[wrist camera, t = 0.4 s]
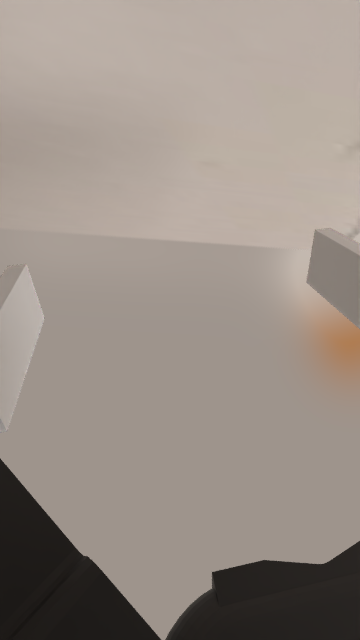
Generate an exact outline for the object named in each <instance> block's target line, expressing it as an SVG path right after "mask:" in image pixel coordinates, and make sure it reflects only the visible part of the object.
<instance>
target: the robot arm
mask: <svg viewBox="0 0 360 640" xmlns="http://www.w3.org/2000/svg"><path fill="white" fill-rule="evenodd" d="M307 283H308V284H309V285H310V286H311V287H312V288H313V289H315V290H316V291H317V292H318V293H319V294H320V295H322V296H323V297H324V298H325V299H326V300H327V301H328V302H329V303H331V304H332V305H333V306H334V307H335V308H337V310H339V311H340V312H341V313H342V314H343V315H344V316H346V317H347V318H348V319H349V320H350V321H351V322H352V323H354V324H355V325H356V326H357V327H358V328H359V329H360V243H358V242H356V241H354V240H352V239H350V238H348V237H347V236H345V235H343V234H341V233H339V232H337V231H335V230H333V229H331V228H324V229H316V230H315V233H314V239H313V245H312V251H311V258H310V264H309V270H308V276H307ZM43 321H44V315H43V312H42V309H41V306H40V303H39V300H38V297H37V294H36V291H35V288H34V285H33V282H32V279H31V276H30V273H29V270H28V267H27V264H20V265H12V266H7V268H6V269H5V271H4V272H3V274H2V275H1V277H0V433H1V432H6V431H7V430H8V427H9V424H10V421H11V418H12V415H13V412H14V409H15V406H16V403H17V400H18V397H19V394H20V391H21V388H22V385H23V382H24V379H25V376H26V373H27V370H28V367H29V364H30V361H31V358H32V354H33V352H34V349H35V346H36V343H37V340H38V337H39V334H40V331H41V327H42V324H43ZM0 640H161V639H160V638H159V637H158V636H157V634H156V633H155V632H154V631H153V630H152V629H151V627H150V626H149V625H148V624H147V623H146V622H145V620H144V619H143V618H142V617H141V616H140V615H139V614H138V612H136V610H135V609H134V608H133V607H132V605H131V604H130V603H129V602H128V601H127V599H126V598H125V597H124V596H123V595H122V594H121V593H120V591H119V590H118V589H117V588H116V587H115V586H114V584H113V583H112V582H111V581H110V580H109V579H108V578H107V576H106V575H105V574H104V573H103V572H102V570H100V568H99V567H98V566H97V565H96V564H95V563H94V562H93V561H92V560H91V559H90V558H89V557H87V556H83V555H82V554H81V553H80V552H79V551H78V550H77V549H76V548H75V547H74V545H73V544H72V543H71V542H70V541H69V539H68V538H67V537H66V536H65V535H64V534H63V532H62V531H61V530H60V529H59V528H58V526H57V525H56V524H55V523H54V522H53V520H52V519H51V518H50V517H49V516H48V515H47V513H46V512H45V511H44V510H43V509H42V508H41V506H40V505H39V504H38V503H37V502H36V500H35V499H34V498H33V497H32V496H31V494H30V493H29V492H28V491H27V490H26V488H25V487H24V486H23V485H22V484H21V483H20V481H19V480H18V479H17V478H16V477H15V475H14V474H13V473H12V472H11V471H10V469H9V468H8V467H7V466H6V465H5V464H4V462H3V461H2V460H1V459H0ZM166 640H360V541H359V542H357V543H356V544H355V545H353V546H351V547H350V548H349V549H347V550H345V551H344V552H342V553H341V554H340V555H338V556H336V557H335V558H333V559H332V560H331V561H329V562H327V563H325V564H308V563H295V562H282V561H269V560H268V561H267V560H263V561H258V562H254V563H250V564H245V565H241V566H237V567H233V568H229V569H224V570H220V571H216V572H212V589H211V590H209V591H207V592H206V593H204V594H203V595H201V596H200V597H199V598H198V599H197V600H195V601H194V602H193V603H192V604H191V605H190V606H189V607H188V608H187V609H186V610H185V611H184V613H183V614H182V615H181V616H180V617H179V619H178V620H177V622H176V623H175V624H174V626H173V627H172V629H171V631H170V632H169V634H168V636H167V638H166Z"/></svg>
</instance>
